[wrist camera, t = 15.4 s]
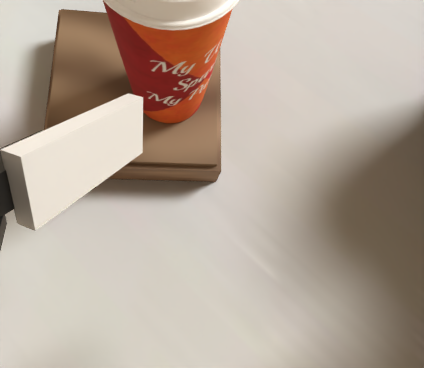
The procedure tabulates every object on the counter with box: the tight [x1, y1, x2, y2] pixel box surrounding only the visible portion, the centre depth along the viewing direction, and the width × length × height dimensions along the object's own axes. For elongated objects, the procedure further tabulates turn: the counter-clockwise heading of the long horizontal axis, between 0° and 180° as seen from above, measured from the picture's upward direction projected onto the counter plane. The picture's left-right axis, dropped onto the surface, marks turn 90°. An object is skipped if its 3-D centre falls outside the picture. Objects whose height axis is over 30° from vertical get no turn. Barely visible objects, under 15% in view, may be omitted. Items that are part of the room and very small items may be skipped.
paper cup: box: [103, 0, 239, 123], centre depth 22 cm, size 8×8×14 cm
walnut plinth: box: [44, 9, 221, 182], centre depth 30 cm, size 14×14×4 cm
